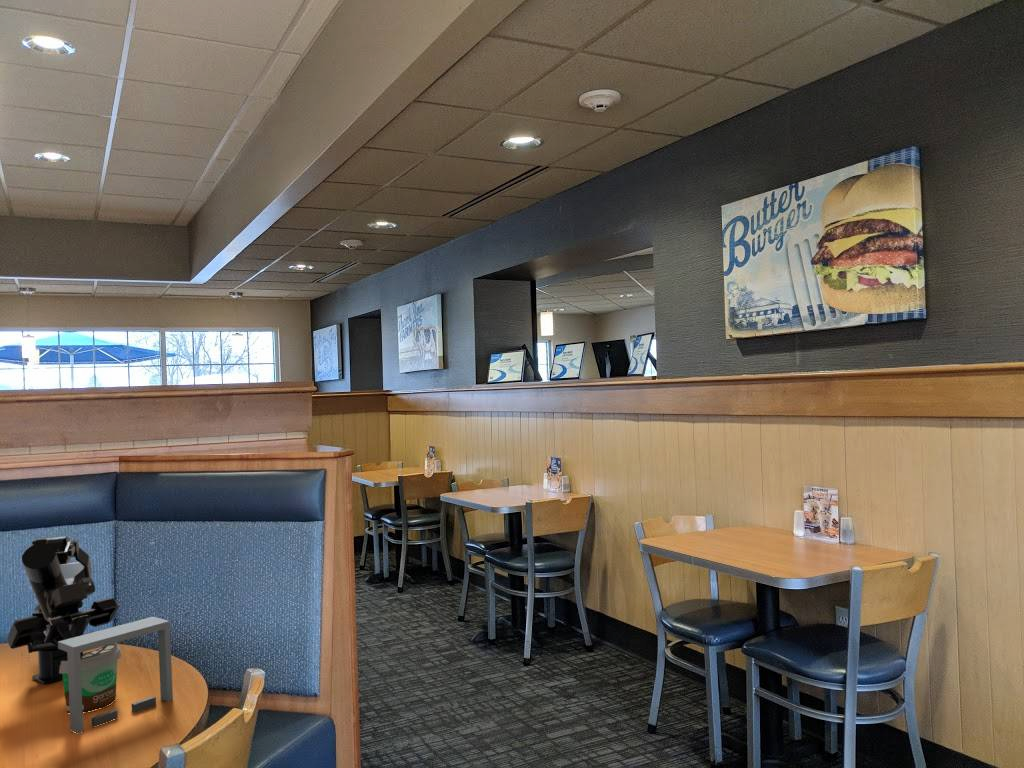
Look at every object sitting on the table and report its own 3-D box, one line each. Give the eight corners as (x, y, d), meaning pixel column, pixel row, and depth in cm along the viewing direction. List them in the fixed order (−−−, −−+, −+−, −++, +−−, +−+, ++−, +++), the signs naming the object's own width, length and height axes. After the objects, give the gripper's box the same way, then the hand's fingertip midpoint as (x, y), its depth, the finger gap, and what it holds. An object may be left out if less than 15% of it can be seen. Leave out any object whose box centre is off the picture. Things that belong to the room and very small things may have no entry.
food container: (90, 719, 139) (88, 662, 139) (60, 718, 140) (58, 662, 140) (137, 692, 151) (135, 640, 151) (109, 691, 152) (107, 639, 152)
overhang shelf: (61, 726, 136) (57, 641, 136) (156, 693, 150) (153, 616, 150) (77, 734, 132) (73, 647, 132) (172, 700, 146) (169, 621, 146)
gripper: (10, 578, 146) (38, 647, 139) (112, 557, 161) (142, 619, 154) (-4, 614, 151) (22, 683, 144) (96, 590, 165) (124, 652, 159)
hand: (80, 657), depth 150 cm, fingers closed
